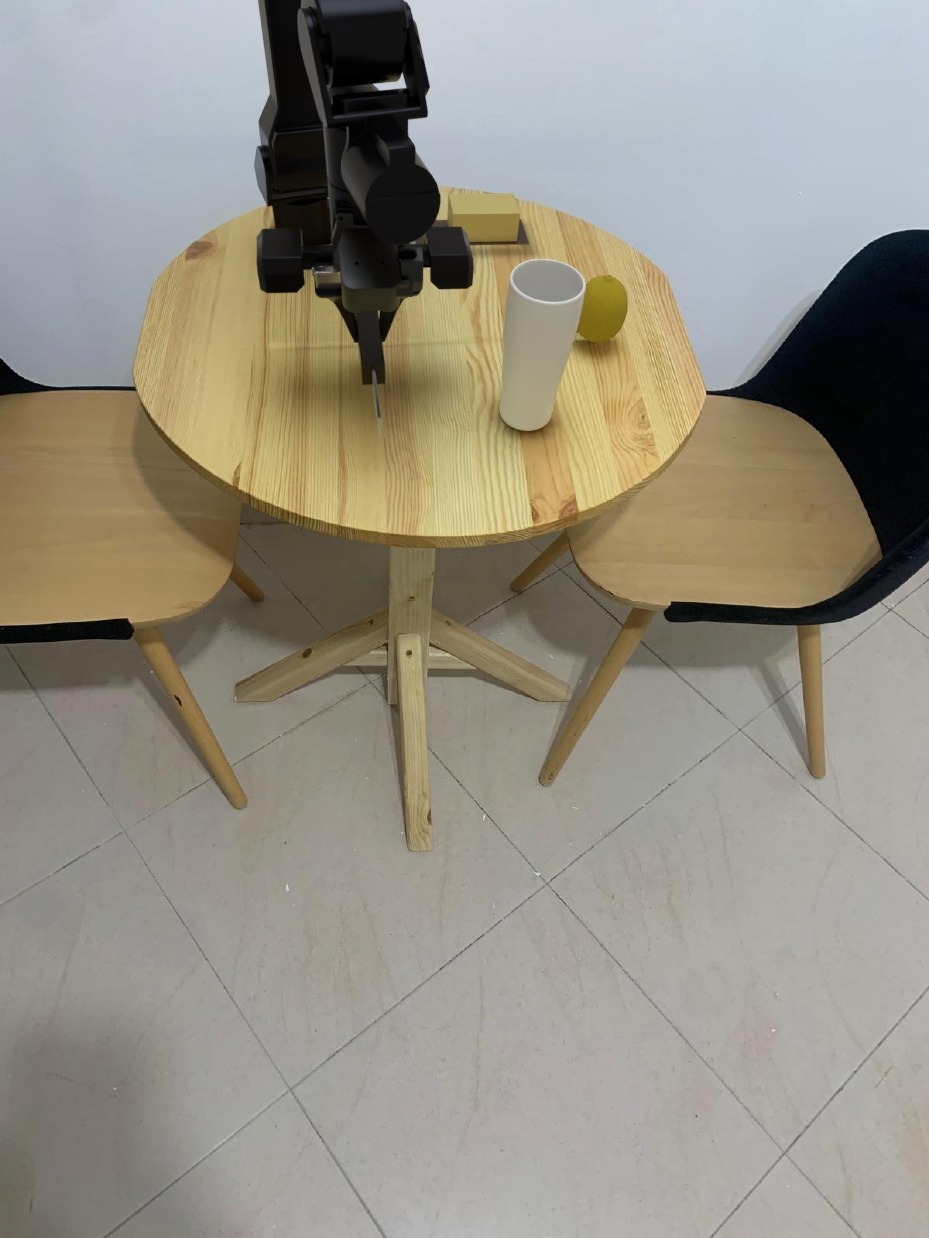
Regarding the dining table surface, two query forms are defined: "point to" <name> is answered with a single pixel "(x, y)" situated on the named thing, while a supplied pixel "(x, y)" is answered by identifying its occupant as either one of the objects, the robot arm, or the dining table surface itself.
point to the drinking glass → (537, 338)
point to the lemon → (603, 309)
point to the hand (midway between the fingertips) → (369, 340)
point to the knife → (371, 355)
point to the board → (520, 241)
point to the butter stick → (485, 216)
